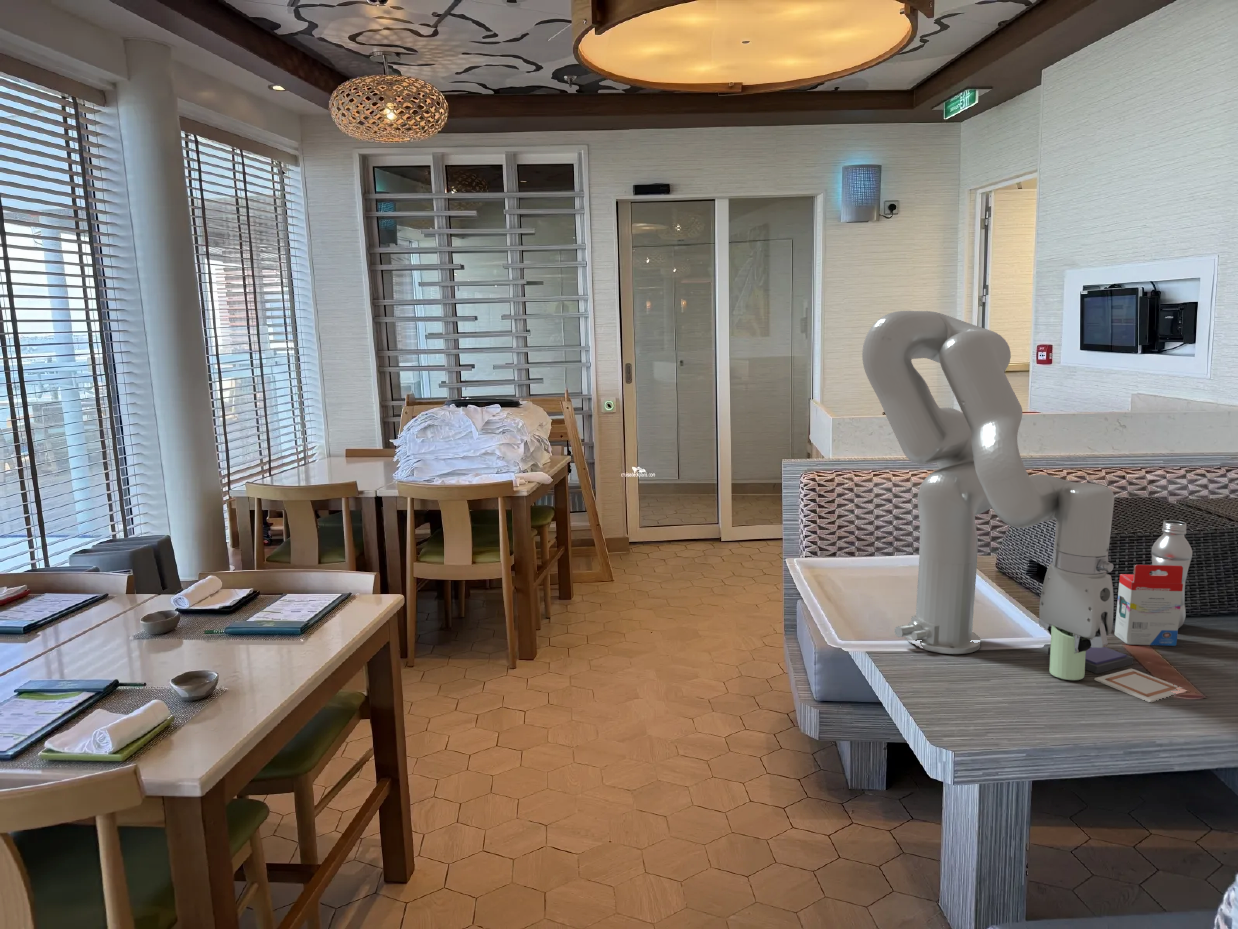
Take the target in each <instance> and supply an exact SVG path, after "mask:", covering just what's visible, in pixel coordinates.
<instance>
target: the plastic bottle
mask: <svg viewBox="0 0 1238 929" xmlns="http://www.w3.org/2000/svg"><path fill="white" fill-rule="evenodd" d="M1161 531H1162V533H1163V534H1161V536H1159V537H1158V538H1157V539H1156V541H1155V542H1154V543H1153V545H1152V547H1151V562H1152V563H1151V565H1172V566H1183V575H1182V583H1183V590H1182V598H1181V607H1180V616H1179V625H1178V629H1179V628H1181V627H1182V626H1183V625H1184V623H1185V620H1186V618H1187V616H1186V614H1187V613H1186V604H1185V596H1186V595H1185V592H1186V591H1185V590H1186V581H1187V577H1188V571H1189V568H1190V565H1191V561H1192V558H1193V549H1192V547H1191V545H1190V543H1189V541H1188V540H1187V538H1186V537H1185V535H1186V534H1187V522H1183V521H1179V520H1172V519H1171V520H1167V519H1166V520H1164V521H1163V523H1162V528H1161ZM1166 574H1167V572H1165V571H1160V570H1156V571H1151V575H1166Z"/></svg>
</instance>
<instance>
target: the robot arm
mask: <svg viewBox="0 0 1238 929" xmlns="http://www.w3.org/2000/svg"><path fill="white" fill-rule="evenodd" d="M861 352H862V353H861V355H862V356H861V358H862V364H863V370H864V372H865V374H866V377H867V379H868V381H869V383H870V385H871V387H872V389H873V392H874V393H875V395H876V397H877V399H878V400H879V403H880V405H881V407H882V409H883V412H884V414H885V417H886V418H887V421H888V422H889V425H890V428H891V429H892V431H893V433H894V436H895V439H896V440H897V442H898V444H899V446H900V448H901V451H902V453H903V454H904V455H905V457H906V458H907V459H908V460H909V461H910V462H912V463H914V464H917V465H932V464H936V466H937V468H938V469H937V470H936V469H935V470H934V471H933V472H931V473H930V474H928V475H927V476H926V477H925V478H924V480H923V481H922V482H921V484H920V486H919V489H918V492H917V510H918V518H919V519H918V520H919V549H918V551H919V552H918V571H917V572H918V575H917V589H916V608H915V615H912V616H911V621H910V622H908V624H904V625H903V624H902V625H897V626H896V627H895V628H894V634H895V636H896V637H898V638H904V637H905V639H906V638H907V639H909V640H915V641H917V640H922V641H920V644H921V646H922V647H923V649H922V650H925V651H929V652H932V653H939V654H948V655H965V654H972V653H973V652H976V651H978V650H980V648H981V646H980V642H978V643H974V642H973V641H972V642H970V641H971V640H981V641H982V638H980V636H979V635H978V634H976V633H975V632H973V627H974V626H973V625H974V624H973V623H974V611H975V610H974V608H975V598H976V597H975V596H976V594H975V593H976V584H977V582H976V581H977V568H978V567H977V566H978V550H979V544H978V542H979V541H978V532H977V525H976V516H977V515H981V514H982V513H985V512H987V511H989V510H991V509H992V510H993V511H994V514H995V515H996V516H997V517H998V518H999V519H1000V520H1001V521H1002V522H1003V523H1004V524H1006V525H1007V526H1010V527H1012V528H1016V529H1027V528H1031V527H1033V526H1035V525H1038V524H1040V523H1044V522H1047V521H1053V520H1055V521H1056V522H1055V523H1056V524H1055V534H1054V541H1053V542H1054V544H1053V553H1052V561H1051V562H1052V563H1050V564H1049V565H1048V567H1047V570H1046V573H1045V576H1044V580H1043V583H1042V589H1041V593H1040V594H1041V595H1040V600H1039V608H1038V610H1039V619H1038V624H1039V626H1041V627H1043V628H1044V629H1045V630H1047V631H1048V634H1050V636H1051V625H1053V626H1055V627H1056V629H1057V630H1059V631H1060V632H1062V631H1064V630H1065V631H1067V632H1070V633H1073V636H1072V637H1073V638H1074V639H1075V644H1074V647H1075V651H1076V652H1075V653H1079V652H1082V651H1087V650H1088V649H1089V648H1091V647H1095V648H1102V647H1108V645H1109V644H1108V637H1107V636H1108V635H1111V634H1112V631H1113V625H1114V605H1115V604H1114V602H1115V601H1114V600H1115V598H1114V585H1113V581H1112V576H1111V574H1108V573H1111V572H1112V571H1113V569H1114V564H1113V563H1112V562H1109V548H1110V541H1111V534H1112V533H1111V532H1112V523H1113V514H1114V513H1113V512H1114V506H1115V505H1114V504H1115V494H1114V492H1113V490H1112V489H1111V488H1109V487H1108V486H1105V485H1102V484H1099V483H1090V482H1074V481H1070V480H1066V479H1062V478H1059V477H1055V476H1052V475H1048V474H1042V473H1040V474H1034V475H1033V474H1032V475H1029V473H1028V471H1027V469H1026V467H1025V464H1024V462H1023V460H1022V456H1021V454H1020V453H1021V452H1020V449H1019V443H1018V436H1019V435H1018V432H1019V428H1020V427H1021V422H1022V419H1023V407H1022V405H1021V403H1020V401H1019V399H1018V397H1017V395H1016V393H1015V391H1014V389H1013V388H1012V385H1011V383H1010V382H1009V379H1008V378H1007V375H1006V373H1005V371H1006V370H1007V369H1008V367H1009V365H1010V362H1011V356H1012V355H1011V354H1012V353H1011V349H1010V346H1009V344H1008V341H1006V339H1005V338H1004V336H1002V335H1000V334H999V333H997V332H995V331H993V330H990V329H987V328H984V327H981V326H978V325H975V324H972V323H970V322H966V321H964V320H961V319H958V318H956V317H953V316H950V315H947V314H943V313H940V312H936V311H931V310H898V311H893V312H890V313H887V314H885V315H883V316H882V317H880V318H878V319H877V321H875V322H874V323H873V324H872V326H870V328H869V330H868V332H867V334H866V336H865V338H864V341H863V345H862V351H861ZM914 359H927V360H930V361H933V362H936V363H938V364H940V367H941V370H942V371H943V374H944V376H945V378H946V381H947V383H948V385H949V387H950V390H951V391H952V392H953V395H954V397H955V399H956V402H957V404H958V406H959V408H960V409H961V411H960V410H958V409H955V408H953V407H952V408H951V407H940V406H939V405H938V403H937V402H936V400H935V398H934V396H933V395H932V393H931V390H930V388H929V386H928V382H926V381H925V379H924V377H923V376H922V375H921V373H920V372H918V370H917V369H916V367H915V366H914V364H913V362H912V360H914ZM1107 572H1108V573H1107ZM1083 638H1086V639H1085V640H1083V641H1081V639H1083ZM907 639H906V640H907Z"/></svg>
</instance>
